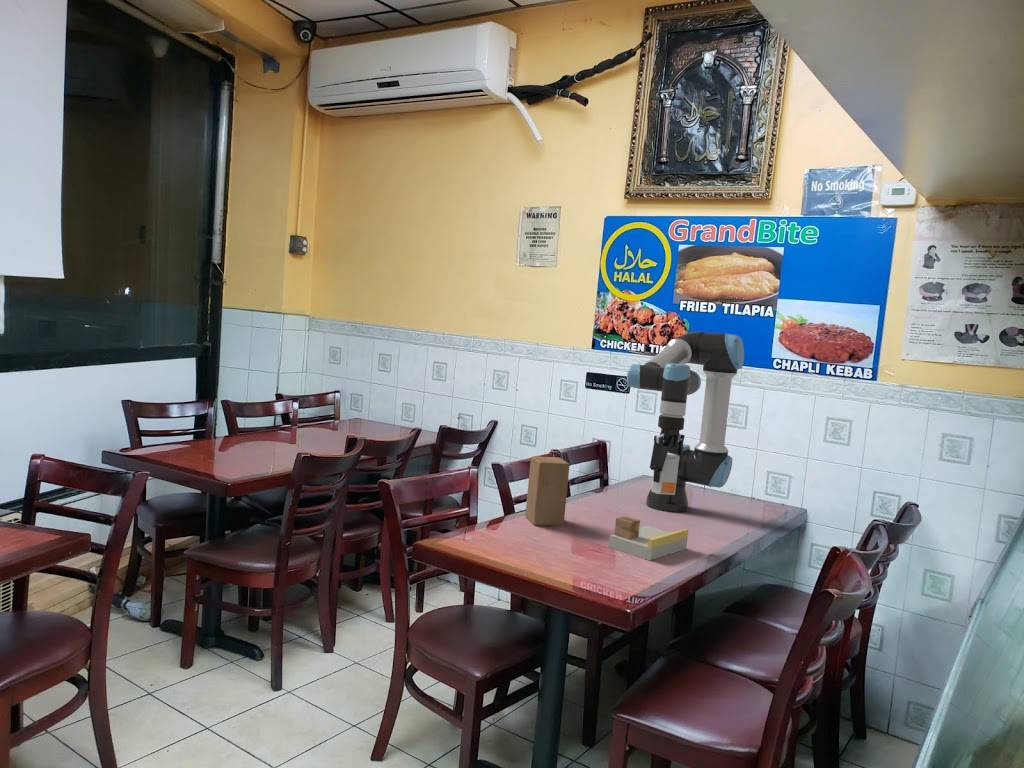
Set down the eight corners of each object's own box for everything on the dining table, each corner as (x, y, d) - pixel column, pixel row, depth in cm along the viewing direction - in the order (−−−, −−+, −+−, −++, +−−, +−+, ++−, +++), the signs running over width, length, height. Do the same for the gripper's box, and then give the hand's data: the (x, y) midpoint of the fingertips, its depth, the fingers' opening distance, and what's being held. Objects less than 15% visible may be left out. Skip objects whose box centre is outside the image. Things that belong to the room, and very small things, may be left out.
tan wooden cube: (624, 532, 224) (625, 515, 223) (638, 536, 220) (640, 520, 220) (614, 535, 220) (616, 518, 219) (628, 539, 217) (630, 522, 216)
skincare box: (657, 494, 224) (661, 454, 223) (650, 491, 228) (655, 452, 227) (675, 495, 225) (680, 455, 224) (668, 491, 229) (673, 452, 228)
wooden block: (533, 525, 235) (539, 462, 233) (524, 516, 245) (530, 455, 243) (564, 526, 238) (570, 463, 236) (553, 517, 247) (559, 457, 246)
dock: (646, 536, 234) (648, 518, 234) (686, 549, 225) (688, 529, 224) (608, 547, 219) (610, 527, 219) (649, 560, 210) (652, 540, 210)
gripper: (678, 412, 234) (669, 485, 236) (642, 414, 220) (634, 492, 222) (699, 416, 229) (691, 490, 231) (665, 418, 215) (656, 497, 217)
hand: (663, 491), depth 226 cm, fingers closed on skincare box, 7 cm apart
